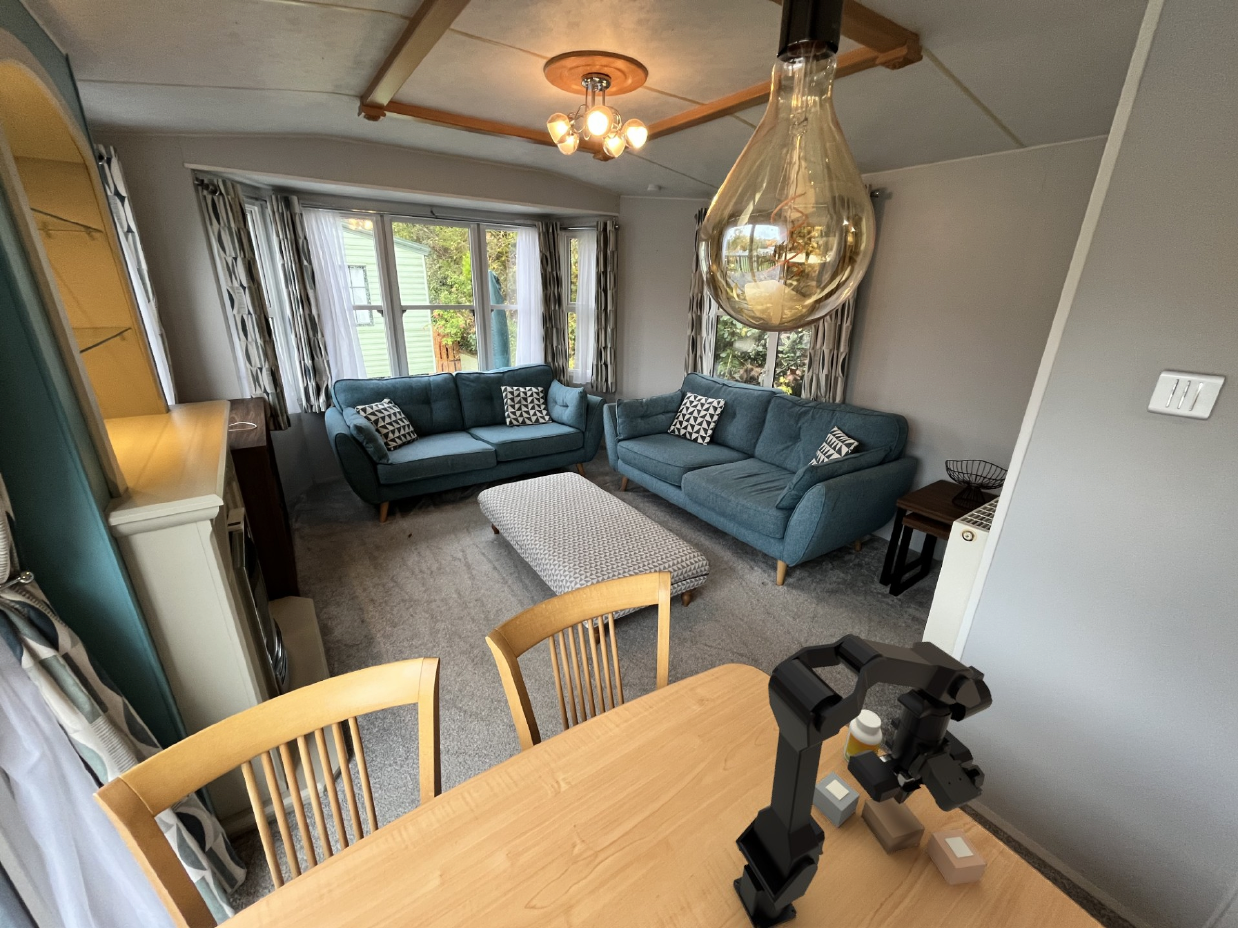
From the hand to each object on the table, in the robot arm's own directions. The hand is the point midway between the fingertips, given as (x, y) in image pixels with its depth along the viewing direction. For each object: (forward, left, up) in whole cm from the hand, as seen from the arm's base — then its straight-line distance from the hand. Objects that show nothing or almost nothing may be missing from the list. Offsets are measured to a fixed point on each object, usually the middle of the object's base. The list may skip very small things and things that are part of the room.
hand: (898, 800), depth 79 cm
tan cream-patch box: (+5, -7, -7) cm, 11 cm away
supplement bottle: (+5, +12, -7) cm, 15 cm away
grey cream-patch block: (-6, +6, -7) cm, 11 cm away
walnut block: (0, 0, -7) cm, 7 cm away
